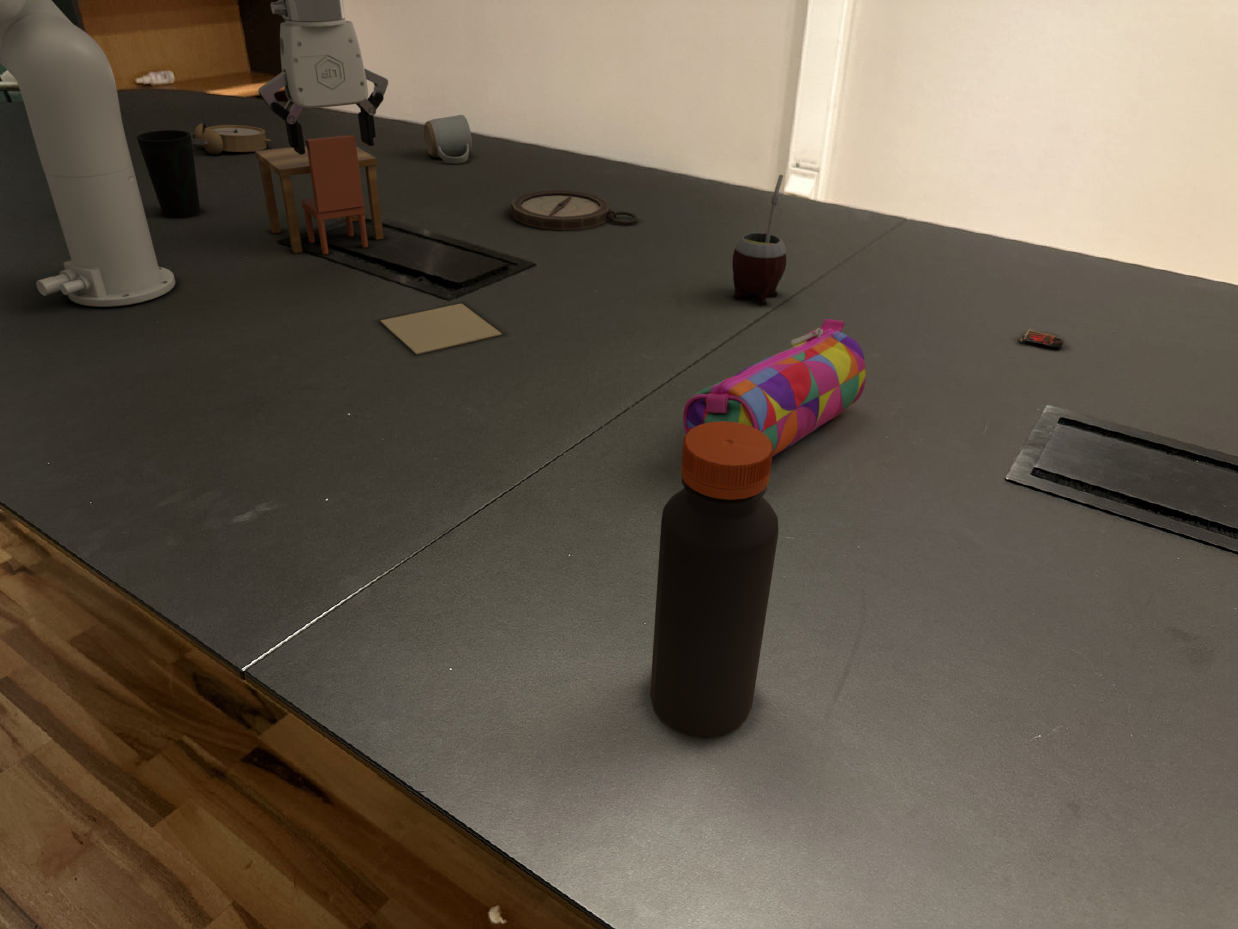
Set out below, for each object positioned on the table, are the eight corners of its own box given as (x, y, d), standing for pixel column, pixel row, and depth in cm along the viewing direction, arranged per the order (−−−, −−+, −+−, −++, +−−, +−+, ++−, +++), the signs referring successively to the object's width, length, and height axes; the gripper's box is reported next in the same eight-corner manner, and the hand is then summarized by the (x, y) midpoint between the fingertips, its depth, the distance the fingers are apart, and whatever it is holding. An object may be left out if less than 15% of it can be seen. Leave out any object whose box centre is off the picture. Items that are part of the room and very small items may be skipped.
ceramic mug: (423, 153, 182) (420, 113, 178) (462, 150, 186) (460, 111, 181) (438, 166, 175) (435, 125, 170) (479, 163, 178) (477, 122, 174)
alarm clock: (274, 135, 180) (194, 128, 171) (274, 160, 182) (195, 155, 173) (255, 124, 187) (178, 118, 178) (256, 149, 189) (179, 143, 180)
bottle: (743, 663, 63) (778, 412, 52) (759, 740, 57) (802, 476, 46) (646, 664, 62) (661, 411, 52) (652, 741, 57) (671, 475, 46)
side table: (385, 238, 137) (376, 158, 131) (293, 253, 130) (279, 169, 124) (357, 218, 145) (347, 141, 139) (269, 231, 139) (254, 150, 132)
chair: (370, 247, 134) (356, 135, 125) (323, 255, 130) (306, 141, 122) (352, 234, 139) (338, 125, 130) (307, 241, 135) (290, 130, 127)
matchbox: (1065, 350, 109) (1066, 346, 109) (1021, 344, 110) (1022, 341, 110) (1060, 335, 113) (1061, 332, 113) (1017, 330, 114) (1018, 326, 114)
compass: (489, 212, 150) (488, 200, 149) (560, 195, 160) (560, 183, 159) (573, 242, 138) (573, 229, 137) (644, 221, 148) (644, 209, 147)
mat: (501, 334, 108) (501, 333, 108) (416, 354, 103) (416, 353, 103) (461, 304, 116) (461, 303, 116) (380, 321, 111) (380, 320, 111)
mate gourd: (740, 308, 118) (753, 193, 110) (719, 286, 124) (729, 176, 116) (792, 304, 120) (808, 190, 112) (769, 283, 126) (782, 174, 118)
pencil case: (788, 383, 100) (799, 307, 95) (865, 411, 95) (881, 331, 90) (672, 460, 85) (678, 375, 80) (756, 497, 80) (768, 409, 76)
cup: (215, 207, 148) (199, 131, 142) (192, 220, 142) (174, 142, 135) (171, 204, 149) (153, 128, 142) (145, 218, 142) (126, 139, 136)
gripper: (253, 17, 109) (279, 162, 118) (389, 10, 117) (403, 146, 126) (236, 10, 114) (263, 150, 123) (367, 4, 122) (383, 135, 131)
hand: (334, 147), depth 125 cm, fingers open, 9 cm apart
